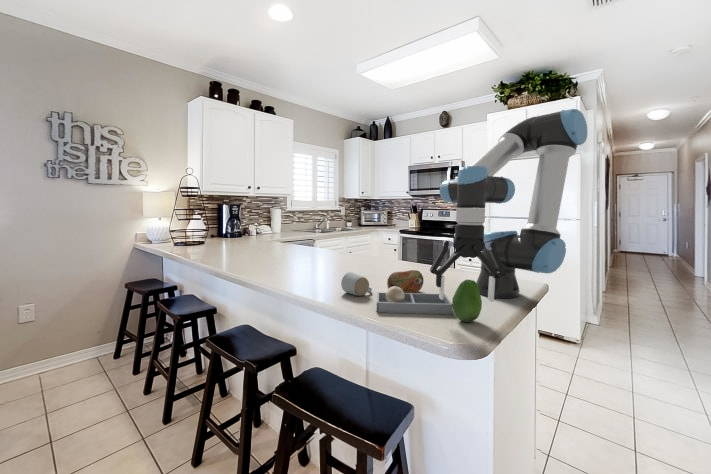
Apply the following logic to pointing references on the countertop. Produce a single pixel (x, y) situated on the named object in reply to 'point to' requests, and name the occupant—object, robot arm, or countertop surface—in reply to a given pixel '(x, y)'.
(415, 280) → the tin
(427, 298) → the grey divided tray
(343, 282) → the ceramic mug
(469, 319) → the avocado
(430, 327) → the countertop surface
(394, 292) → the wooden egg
